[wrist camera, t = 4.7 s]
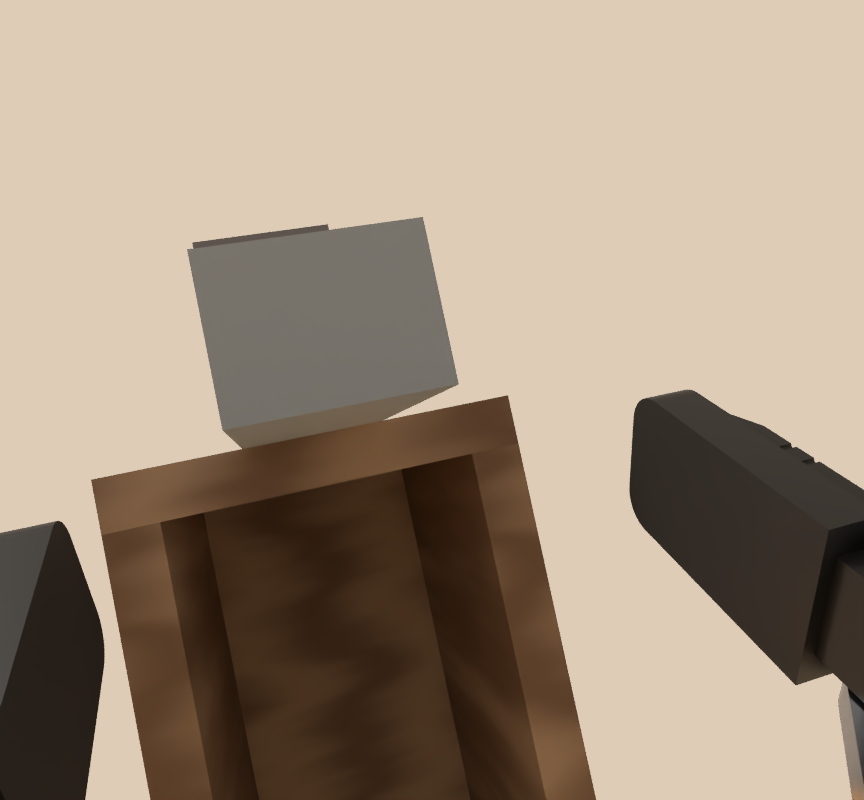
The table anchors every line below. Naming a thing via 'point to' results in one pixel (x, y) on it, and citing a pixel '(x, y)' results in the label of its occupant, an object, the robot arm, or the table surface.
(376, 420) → the gray l-shaped block
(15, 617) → the robot arm
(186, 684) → the walnut stand
